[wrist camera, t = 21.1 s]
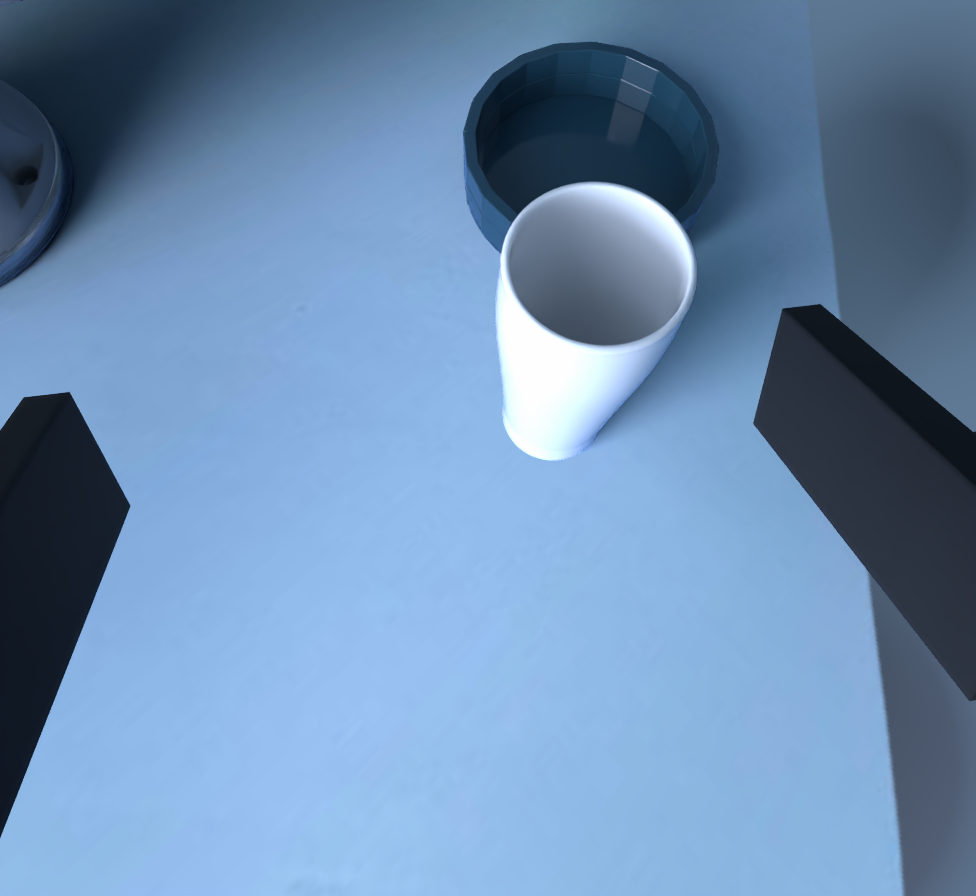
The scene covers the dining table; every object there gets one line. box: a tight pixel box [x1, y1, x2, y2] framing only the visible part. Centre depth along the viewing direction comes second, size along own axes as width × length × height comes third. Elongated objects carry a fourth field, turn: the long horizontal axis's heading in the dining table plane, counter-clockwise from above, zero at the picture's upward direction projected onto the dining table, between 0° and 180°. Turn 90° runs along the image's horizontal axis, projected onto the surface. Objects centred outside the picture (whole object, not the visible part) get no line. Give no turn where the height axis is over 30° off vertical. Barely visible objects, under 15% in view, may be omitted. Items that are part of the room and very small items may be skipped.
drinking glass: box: [495, 182, 698, 461], centre depth 29 cm, size 7×7×15 cm
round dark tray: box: [463, 42, 719, 253], centre depth 39 cm, size 14×14×4 cm
